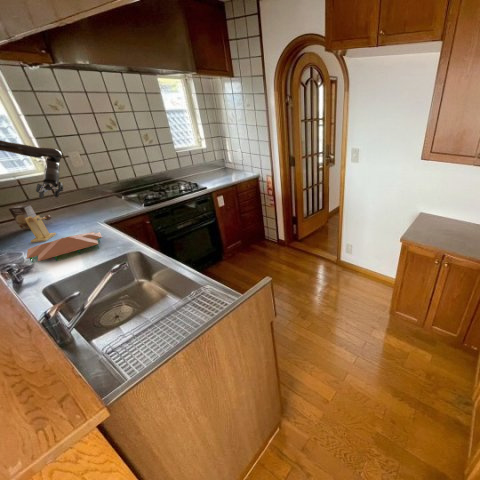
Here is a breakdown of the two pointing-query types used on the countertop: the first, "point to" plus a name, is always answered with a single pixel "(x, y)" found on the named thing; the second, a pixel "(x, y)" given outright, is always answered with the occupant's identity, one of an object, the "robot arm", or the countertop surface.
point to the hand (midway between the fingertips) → (48, 197)
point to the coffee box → (22, 215)
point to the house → (63, 246)
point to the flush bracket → (39, 229)
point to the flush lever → (42, 218)
